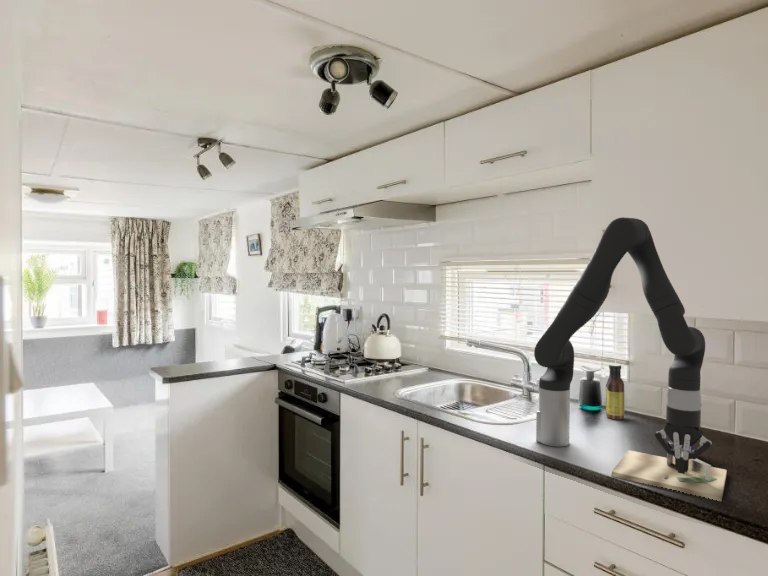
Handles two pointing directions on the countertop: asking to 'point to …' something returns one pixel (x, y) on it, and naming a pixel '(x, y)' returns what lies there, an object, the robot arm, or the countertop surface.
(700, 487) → the board
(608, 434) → the countertop surface
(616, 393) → the sauce bottle
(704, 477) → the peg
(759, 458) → the countertop surface
